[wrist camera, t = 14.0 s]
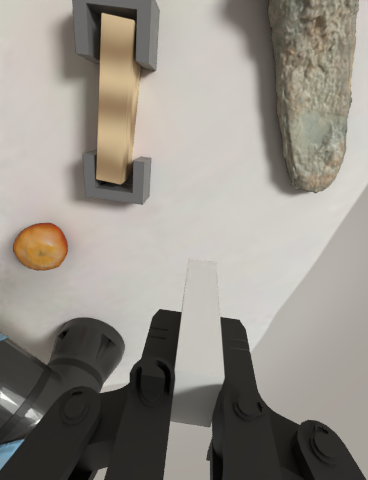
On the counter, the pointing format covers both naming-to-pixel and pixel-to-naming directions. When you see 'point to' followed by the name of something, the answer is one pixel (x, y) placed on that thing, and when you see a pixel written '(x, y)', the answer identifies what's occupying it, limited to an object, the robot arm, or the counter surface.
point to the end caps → (88, 46)
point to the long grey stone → (313, 85)
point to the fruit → (41, 246)
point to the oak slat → (117, 98)
